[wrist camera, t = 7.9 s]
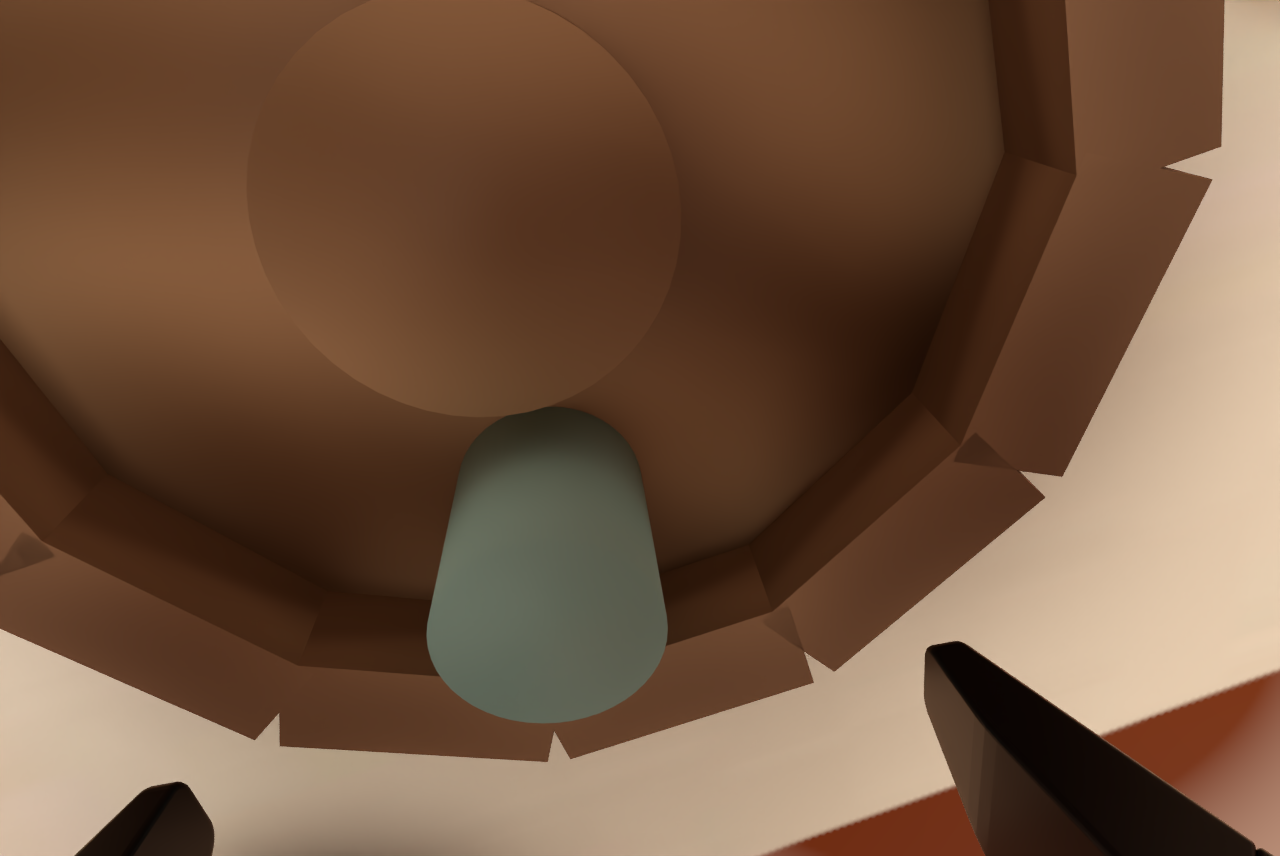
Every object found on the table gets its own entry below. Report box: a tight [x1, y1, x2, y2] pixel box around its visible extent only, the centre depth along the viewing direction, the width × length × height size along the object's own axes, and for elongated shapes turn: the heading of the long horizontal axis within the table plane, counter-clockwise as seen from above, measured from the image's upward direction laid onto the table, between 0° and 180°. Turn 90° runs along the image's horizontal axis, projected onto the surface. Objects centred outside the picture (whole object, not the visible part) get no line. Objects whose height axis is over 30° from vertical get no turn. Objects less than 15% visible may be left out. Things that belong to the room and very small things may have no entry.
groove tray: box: [0, 0, 1224, 762], centre depth 12 cm, size 20×20×3 cm
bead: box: [427, 407, 668, 723], centre depth 13 cm, size 3×3×4 cm
